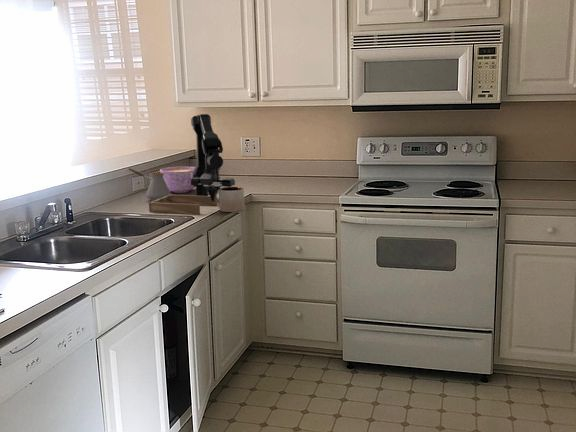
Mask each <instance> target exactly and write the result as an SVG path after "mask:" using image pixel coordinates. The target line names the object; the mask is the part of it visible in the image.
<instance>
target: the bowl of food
mask: <svg viewBox="0 0 576 432" xmlns="http://www.w3.org/2000/svg"><path fill="white" fill-rule="evenodd" d="M195 167H196V166H170V167H164V168H160V169H159V173H160V172H161V173H164V174H163V179H164V181H165V183H166V185H167V187H168V189H169V191H170V192H171V191H172V192H173V193H175V194H177V193H178V194H184V193H188V192H190V191H191V190H193V189H194V188H195V187H194V186H193V185H191V179H192V178H193V174H194V169H195Z"/></svg>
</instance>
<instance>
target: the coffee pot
mask: <svg viewBox="0 0 576 432" xmlns="http://www.w3.org/2000/svg"><path fill="white" fill-rule="evenodd" d="M126 172H127V173H129V172H132V173H134V174H136V175H139V176H141V177H144V178H146V179H147V180H149V181H150V183H149V186H148V189H147V191H146V193H145V195H146V197H147V199H149V201H150V202H152V201H155V200H157V199H160V198H162V197H165V196H168V195H172V193H171V190H169V189H168V187H167V185H166V183H165V181H164V179H163V174H164V173H161V172H160V171H159V172H151V173H150V176H151V177H149V176H147V175H145V174H143V173H141V172H140V171H137V170H134V169H132V168H129V167H128V169H127V170H126Z"/></svg>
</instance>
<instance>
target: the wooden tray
mask: <svg viewBox="0 0 576 432" xmlns="http://www.w3.org/2000/svg"><path fill="white" fill-rule="evenodd" d="M200 206H218V195H217V196H216V198H215V201H214V202H212V199H211V197H210V195H208V196H196V195H193V194H192V195H190V194H189V195H188V194H171V195H168V196H165V197H162V198H160V199H157V200H155V201H149V202H148V209H149V213H166V212H169V213H170V214H189V215H190V214H192V215H193V214H194V215H200V214H201V210H200V209H201V208H200ZM169 213H168V214H169Z"/></svg>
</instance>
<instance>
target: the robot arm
mask: <svg viewBox="0 0 576 432" xmlns="http://www.w3.org/2000/svg"><path fill="white" fill-rule="evenodd" d="M190 119H191V120H190V124H191V127H192V130H193V131H194V133H195V134H196V135H195V136H196V165H195V166H194V167H195V169H194V174H193V178H192V179H191V185H193V186H194V188H195V192H196V193H195V196H210V197H211V199H212V202H214V201H215V198H216V196H217V197H218V194H219V188H222V187H234V186H235V185H236V180H235V179H234V177H233V178H229V177H228V178H223V179H221V176H220V170H221V168H222V167H223V165H224V159H223V157H222V156H220V154H222V153H223V151H224V147H223V142H222V141H221V139H220V138H219V136H218V134H217V133H215V132H214V130H213V128H212V118H211V116H210V114H208V113H200V114H197V115H194V116H192V117H191V118H190Z"/></svg>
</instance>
